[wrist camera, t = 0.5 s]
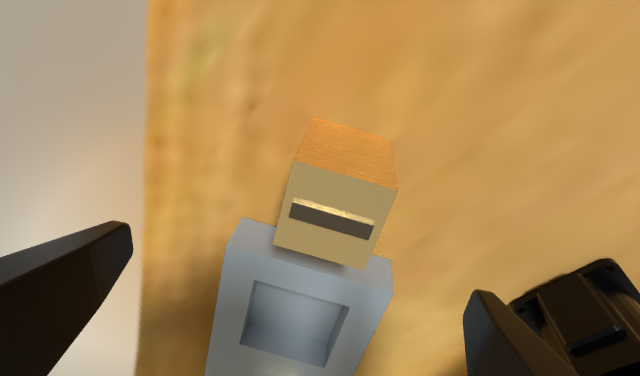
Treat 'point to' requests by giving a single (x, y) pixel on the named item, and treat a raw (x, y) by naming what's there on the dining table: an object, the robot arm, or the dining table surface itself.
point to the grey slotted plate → (292, 309)
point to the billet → (337, 194)
